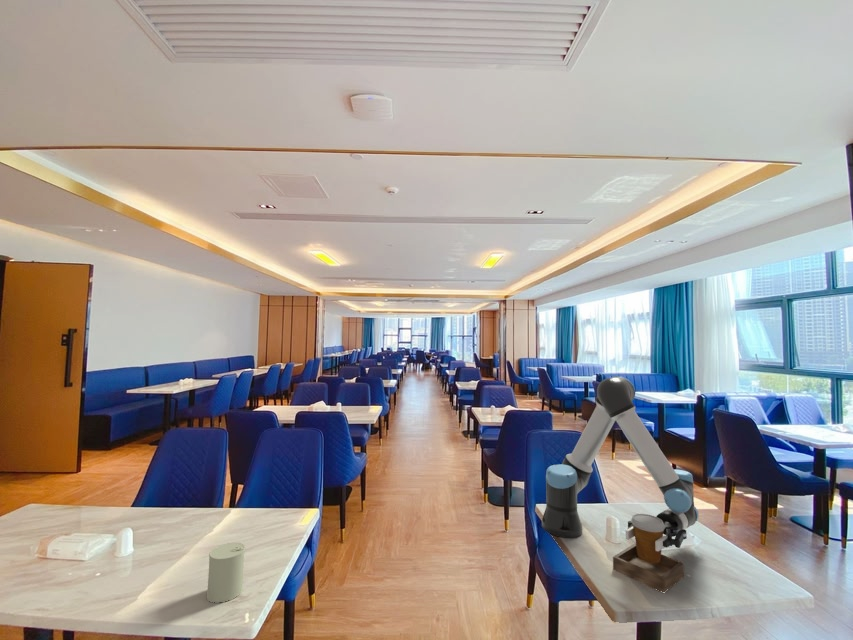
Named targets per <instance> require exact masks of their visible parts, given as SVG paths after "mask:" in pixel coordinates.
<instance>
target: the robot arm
mask: <svg viewBox="0 0 853 640" xmlns="http://www.w3.org/2000/svg"><path fill="white" fill-rule="evenodd" d="M596 389H597V390H596V393H597V394H596V395H597V396H596V398H595V400H594V401H595V404H596V405H595V408H594V409H593V412H592V414H591V416H590V418H589V420H588V421H587V423H586V426H585V427H584V429H583V431H582V433H581V435H580V436H579V439H578V441H577V443H576V444H575V446H574V449H573V450H572V452H571V453H568V454H566V455H565V457H564V459H563V460H562V463H561V464H560V463H559V464H553V465H550V466H548V467H547V469H546V473H545V489H546V490H545V495H546V499H545V501H546V503H545V504H546V505H545V506H546V507H545V509H544V512H543V516H542V518H541V527H542V529H543V530H544V531H545V532H547V533H549V534H551V535H553V536H556V537H561V538H571V539H572V538H577V537H580V536H581V535H582V534H583V525H582V522H581V519H580V515H579V513H578V494H579V493H580V492H581V491H582V490H583V489H585V488H586V487H587V485H588V484H589V481H590V477H591V475H592V473H593V471H594V469H593V467H592V464H593V463H594V461H595V459H596V457H597V455H598V454H599V452H600V450H601V448H602V446H603V444H604V443H605V440H606V439H607V437H608V435H609V433H610V431H611V429H612V428H613V426H614V424H615V422H616V424H617V425H618V427H619V428H620V429H621V430H622V433H623V434H624V435H625V437H626V439H627V440H628V442H629V443H630V445H631V447H632V448H633V450H634V451H635V453H636V455H637V456H638V458H639V459H640V460H641V462H642V464H643V465H644V467H645V469H646V470H647V472H648V473H649V475H650V476H651V477H652V480H653V481H654V482H655V484H656V486H657V487H658V489H659V491H660V492H661V494H662V495H663V498H664V499H663V500H664V503H665V505H666V506H667V509H664V510H663V511H661V512H660V513H658V514H656V516H655V517H658V518H659V519H661V520H662V521H663V524H664V525H665V529H664V531H663V537H661V538H660V539H658V540H657V541H655V547H656V551H658V552H659V551H660V550H661V551H662V550H663V549H664V548H669V547H672V546H674V547H675V548H677V549H679V548H681V546H682V544H683V541H684V540H686V539H687V538H688V537H687V534H688V533H687V530H686V529H688V528H690V527H691V526H694V525H695V524H696V523H697V521H698V519H699V511H698V509H697V507H696V505H695V503H694V496H695V495H694V494H695V493H694V479H693V477H694V476H693V474H692V473H690V471H687V470H684V469H683V470H682V469H674V468H673V466H672V465H671V463H670V462H669V460H668V459H667V457H666V456H665V454H664V453H663V451H662V450H661V448H660V447H659V445H658V443H657V442H656V441H655V439H654V438H653V436H652V434H651V433H650V432H649V430H648V428H647V427H646V426H645V424H644V423H643V421H642V420H641V418H640V417H639V416H638V413H637V412H636V405H635V404H634V403H633V401H634V400H635V397H636V389H635V385H634V384H633V383H632V382H631V381H630V380H629V379H628V378H626V377H623V376H619V375H617V376H616V375H615V376H611V377H607V378H605V379H603V380H601V381H600V383H599V384H598V386H597V388H596ZM633 538H635V535H634V528H633V524H632V522H631V520H628V521H627V529H625V540H627V541H628V540H631V539H633Z"/></svg>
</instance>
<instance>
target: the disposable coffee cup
mask: <svg viewBox="0 0 853 640" xmlns="http://www.w3.org/2000/svg"><path fill="white" fill-rule="evenodd" d="M630 521H631V522H632V524H633V528H634V535H635V536H634V541H635V544H636V547H637V553H638V557H639V558H640V559H642V560H644V561H646V562H650V563H659V562H660V559H661V554H662V549H661V550H660V551H659V552H658V551H656V547H655V541H657V540H658V539H660V538H661V537H663V536H664V534H663V531H664V529H665V525H664V524H663V521H662V520H661V519H659V518H658V517H656V516H655V515H651V514H647V513H634V514H633V515H632V517H631V518H630Z"/></svg>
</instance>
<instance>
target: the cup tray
mask: <svg viewBox="0 0 853 640" xmlns="http://www.w3.org/2000/svg"><path fill="white" fill-rule="evenodd" d="M684 566H685V565H684V562H682V561H679V560H678V559H674V558H672V557H670V556H667V555H664V554H662V553H661V559H660V562H659V563H650V562H646V561H644V560H642V559H640V558H639V557H638V553H637V547H636V543H633V544H632V545H630V546H628V547H626V548H625V549H623V550H622V551H619V552H618V553H617V554H615V555H613V556H612V569H613V571H614V572H615V571H616V573H617V572H618V573H619V574H621V575H624V576H625V577H628V578H630V579H632V580H634V581H636V582H638V583H640V584H643V585H645V586H647V587H649V588H651V587H652V588H651V589H653V588H654V589H653V590H655V589H657V590H659V591H662V592H665V591H666V590H667V589H669V588H670V587H671V586H672V587H673V586H674V584H675V583H676V584H677V583H679V582H680V581H681V580H682V579H684V577H685V567H684ZM676 584H675V585H676ZM672 587H671V588H672ZM671 588H670V589H671ZM670 589H669V590H670ZM657 590H656V591H657ZM659 591H658V592H659ZM666 592H667V591H666ZM666 592H665V593H666Z"/></svg>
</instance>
